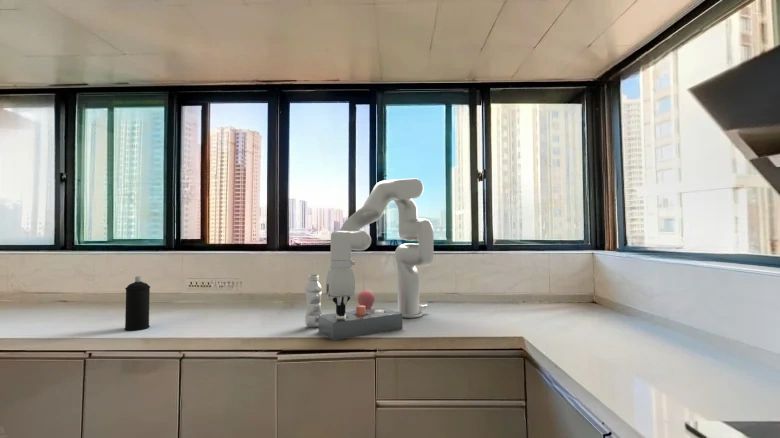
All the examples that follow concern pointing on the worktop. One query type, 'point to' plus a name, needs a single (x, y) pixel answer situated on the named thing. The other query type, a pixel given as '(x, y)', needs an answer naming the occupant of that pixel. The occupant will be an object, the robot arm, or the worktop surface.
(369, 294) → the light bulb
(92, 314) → the worktop surface
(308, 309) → the plastic bottle
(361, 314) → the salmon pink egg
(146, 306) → the aerosol can
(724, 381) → the worktop surface
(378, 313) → the cream plug
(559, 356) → the worktop surface
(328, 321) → the panel
